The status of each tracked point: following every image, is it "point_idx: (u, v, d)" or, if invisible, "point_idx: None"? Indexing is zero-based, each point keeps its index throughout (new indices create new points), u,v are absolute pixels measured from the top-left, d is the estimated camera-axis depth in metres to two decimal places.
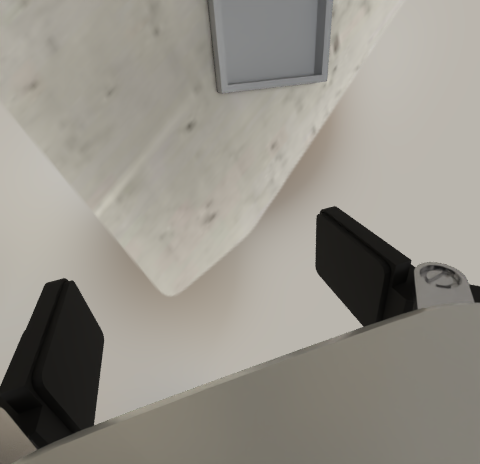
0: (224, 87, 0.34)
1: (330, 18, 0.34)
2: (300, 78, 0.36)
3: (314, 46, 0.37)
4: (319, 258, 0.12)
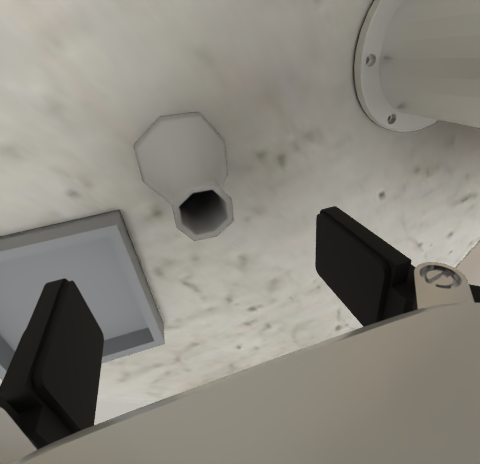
0: None
1: None
2: None
3: None
4: (319, 258, 0.12)
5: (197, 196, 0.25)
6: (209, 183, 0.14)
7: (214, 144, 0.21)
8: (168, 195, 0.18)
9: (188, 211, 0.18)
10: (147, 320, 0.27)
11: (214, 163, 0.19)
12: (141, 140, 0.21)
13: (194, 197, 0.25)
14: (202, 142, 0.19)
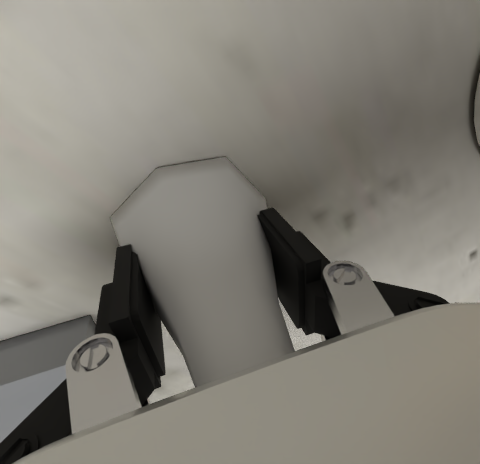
0: None
1: None
2: None
3: None
4: None
5: None
6: None
7: (257, 219, 0.11)
8: (177, 345, 0.09)
9: None
10: None
11: (267, 270, 0.10)
12: (123, 210, 0.12)
13: None
14: (242, 228, 0.10)
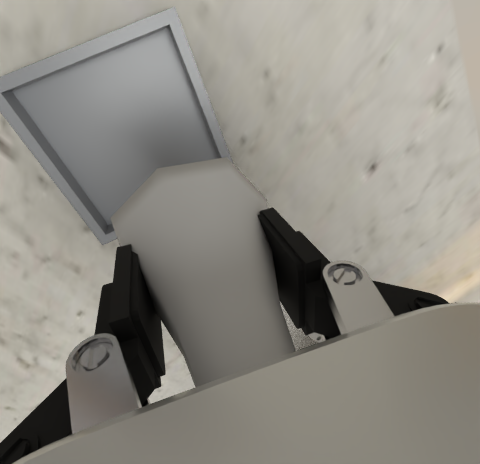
0: (174, 18, 0.20)
1: (49, 172, 0.23)
2: (41, 73, 0.20)
3: (43, 131, 0.23)
4: None
5: None
6: None
7: (258, 220, 0.11)
8: (178, 346, 0.09)
9: None
10: None
11: (268, 271, 0.10)
12: (123, 210, 0.12)
13: None
14: (243, 229, 0.10)
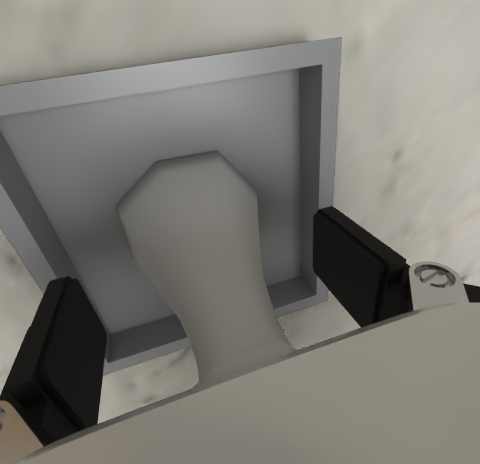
0: (332, 56, 0.11)
1: (33, 271, 0.12)
2: (64, 100, 0.09)
3: (37, 191, 0.12)
4: (316, 258, 0.12)
5: None
6: (276, 354, 0.06)
7: (247, 206, 0.13)
8: (176, 313, 0.10)
9: None
10: (163, 347, 0.16)
11: (254, 249, 0.11)
12: (127, 199, 0.13)
13: None
14: (231, 212, 0.11)
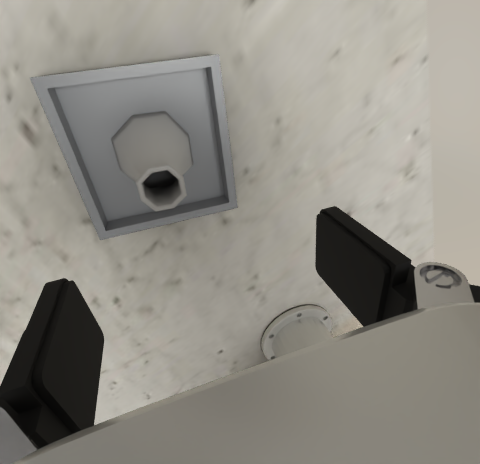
0: (216, 63, 0.24)
1: (70, 166, 0.24)
2: (89, 80, 0.22)
3: (72, 127, 0.25)
4: (319, 258, 0.12)
5: (168, 183, 0.29)
6: (164, 165, 0.19)
7: (177, 138, 0.25)
8: (138, 178, 0.23)
9: (154, 191, 0.23)
10: (137, 225, 0.28)
11: (175, 153, 0.23)
12: (117, 134, 0.25)
13: (165, 184, 0.29)
14: (165, 135, 0.23)
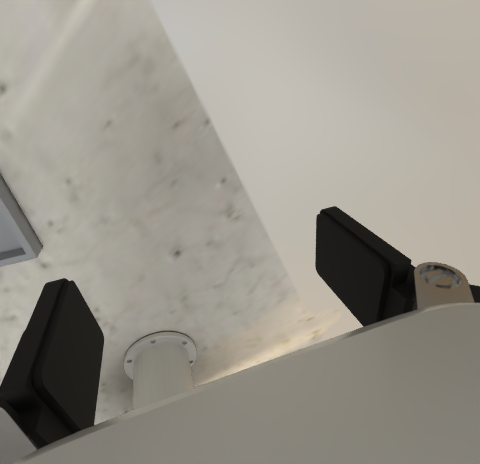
0: None
1: None
2: None
3: None
4: (319, 258, 0.12)
5: None
6: None
7: None
8: None
9: None
10: None
11: None
12: None
13: None
14: None
